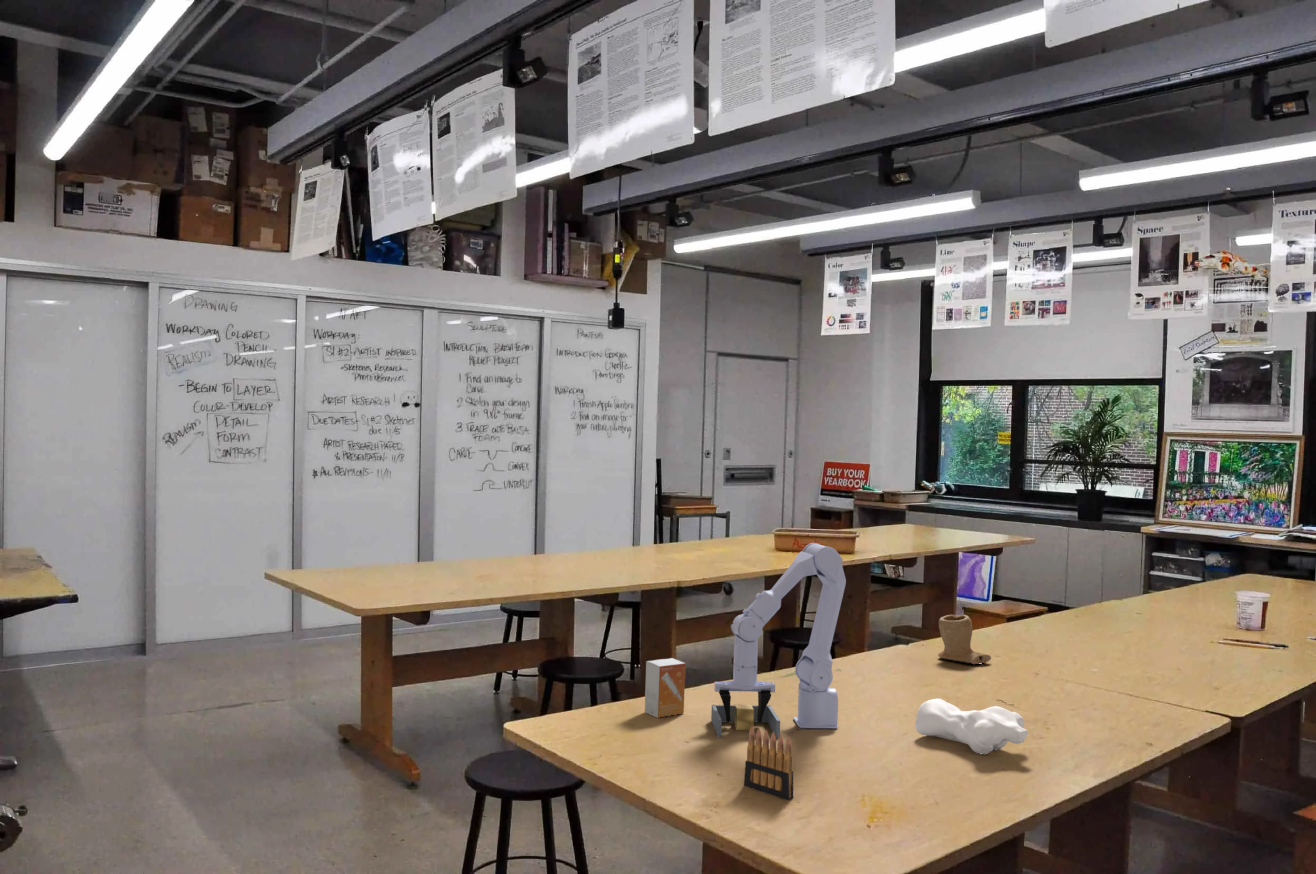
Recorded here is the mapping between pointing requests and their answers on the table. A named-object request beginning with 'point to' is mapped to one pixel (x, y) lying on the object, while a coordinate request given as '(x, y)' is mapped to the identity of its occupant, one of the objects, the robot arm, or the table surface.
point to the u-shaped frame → (768, 716)
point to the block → (743, 717)
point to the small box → (664, 687)
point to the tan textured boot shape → (959, 640)
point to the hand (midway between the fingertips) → (743, 721)
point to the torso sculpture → (971, 725)
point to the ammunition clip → (769, 765)
